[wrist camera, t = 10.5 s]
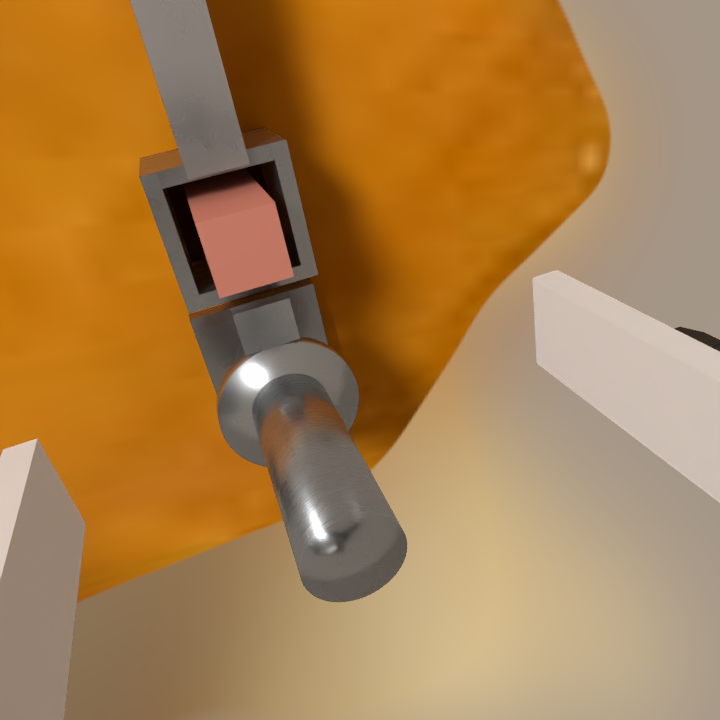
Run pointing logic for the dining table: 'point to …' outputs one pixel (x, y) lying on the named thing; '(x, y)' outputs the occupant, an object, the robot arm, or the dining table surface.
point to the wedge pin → (238, 232)
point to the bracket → (208, 142)
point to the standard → (302, 436)
